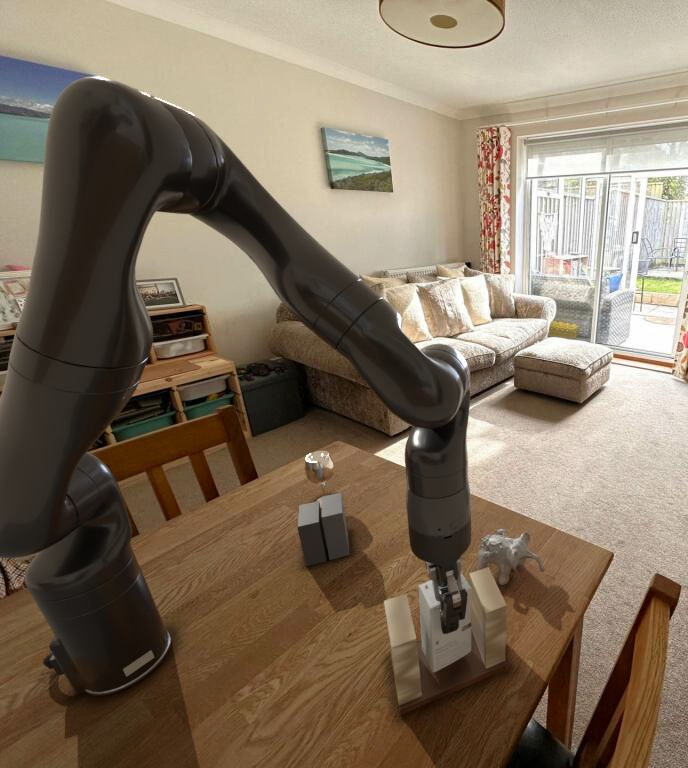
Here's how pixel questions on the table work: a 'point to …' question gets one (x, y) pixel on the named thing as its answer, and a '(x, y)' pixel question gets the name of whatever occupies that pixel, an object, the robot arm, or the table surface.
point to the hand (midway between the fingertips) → (445, 612)
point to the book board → (480, 663)
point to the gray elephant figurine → (505, 553)
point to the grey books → (323, 530)
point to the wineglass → (319, 469)
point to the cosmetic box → (434, 642)
